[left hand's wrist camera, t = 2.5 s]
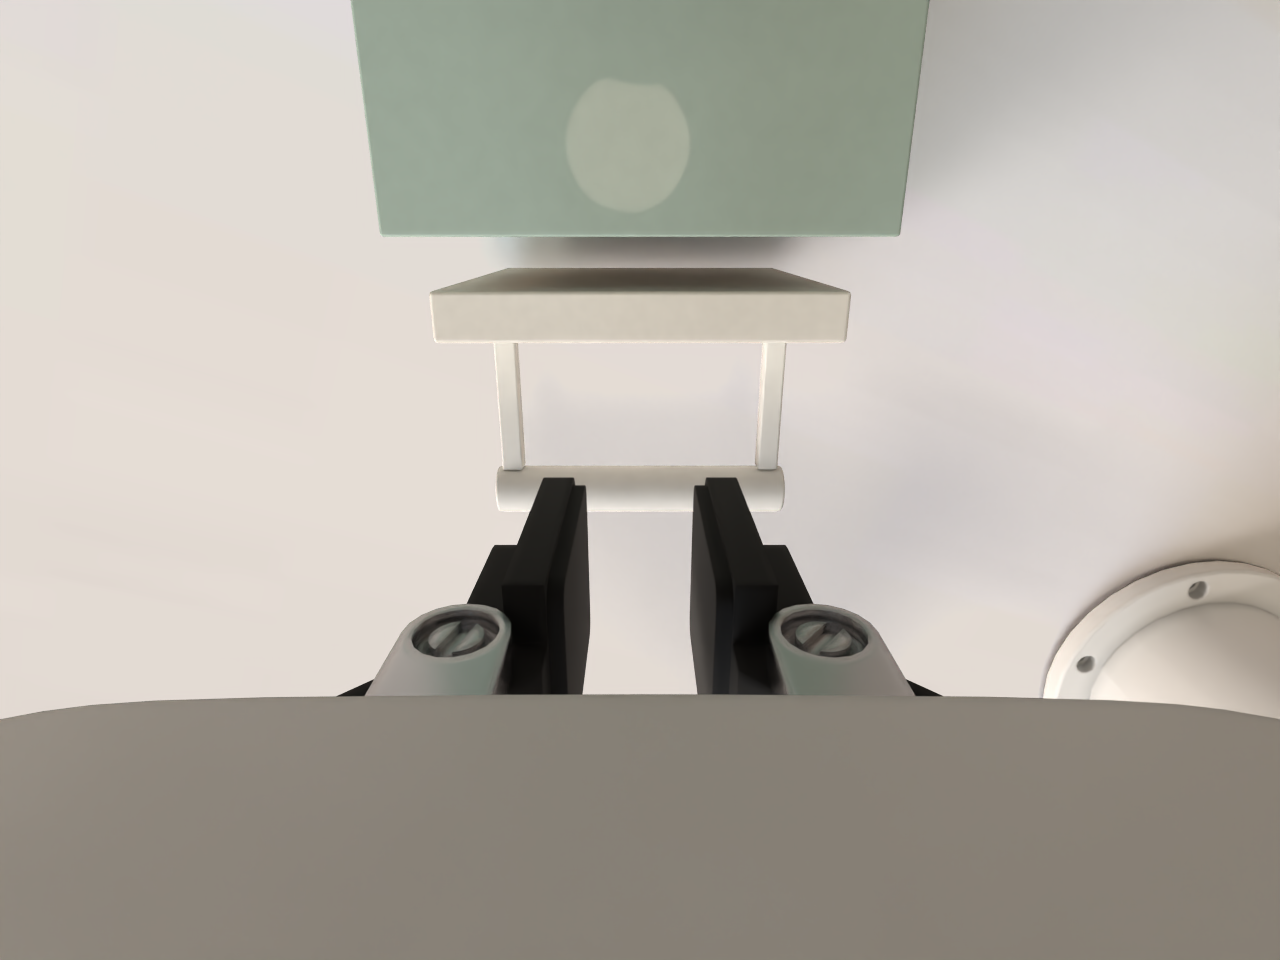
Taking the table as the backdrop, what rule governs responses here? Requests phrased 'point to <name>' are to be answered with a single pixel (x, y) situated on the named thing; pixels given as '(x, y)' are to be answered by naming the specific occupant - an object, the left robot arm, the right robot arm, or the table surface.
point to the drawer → (640, 314)
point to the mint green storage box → (640, 116)
